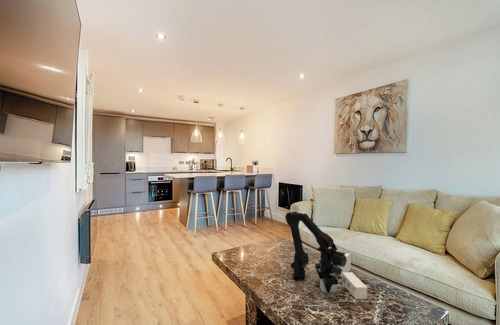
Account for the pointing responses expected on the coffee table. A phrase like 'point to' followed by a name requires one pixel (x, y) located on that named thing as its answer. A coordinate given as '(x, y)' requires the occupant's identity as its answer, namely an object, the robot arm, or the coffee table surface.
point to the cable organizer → (348, 264)
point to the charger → (333, 288)
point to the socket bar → (354, 285)
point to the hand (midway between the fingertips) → (325, 288)
